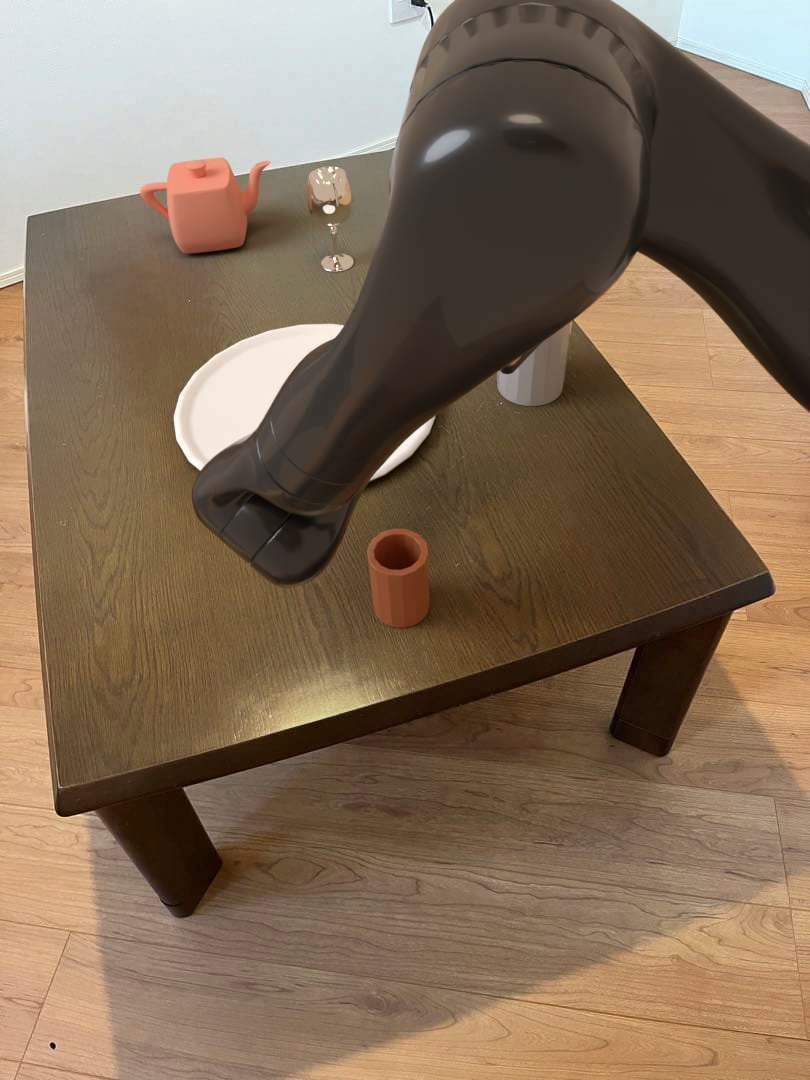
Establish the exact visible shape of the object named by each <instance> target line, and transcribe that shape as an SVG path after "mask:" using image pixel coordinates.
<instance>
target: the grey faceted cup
mask: <svg viewBox="0 0 810 1080" xmlns="http://www.w3.org/2000/svg"><path fill="white" fill-rule="evenodd" d="M572 326H573V320H572V321H571V322H570V323H568V324H567V325H566V326H564V327H563V328H562V329H560V330H559V331H558V332H556V333H555V334H553V335H552V336H550V337H549V338H548V339H546V340H545V341H543V342H542V343H541V344H540V345H539V346H538V347H537V348H536V349H535V350H534V351H533V352H532V354H531V355H530V356H529V357H528V358H527V359H526V360H525V361H524V362H523V363H522V364H521V365H520V366H519V367H518V368H517V369H516V370H515V371H514V372H513V373H511V374H503V373H502V372H500V371H498V372H497V373H496V387H497V391H498V393H499V394H500V395H501V396H502V397H503V398H504V399H505V400H507V401H509V402H510V403H512V404H515V405H519V406H524V407H539V406H543V405H544V406H545V405H548V404H550V403H552V402H555V400H557V399H558V398H559V397H560V396H561V394H562V393H563V390H564V385H565V379H566V373H567V364H568V357H569V348H570V341H571V334H572Z"/></svg>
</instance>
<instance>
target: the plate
mask: <svg viewBox="0 0 810 1080" xmlns="http://www.w3.org/2000/svg"><path fill="white" fill-rule="evenodd" d="M344 325H345V324H337V323H311V324H310V323H309V324H296V325H292V326H285V327H281V328H275V329H269V330H267V331H264V332H261V333H259V334H255V335H253V336H250V337H247V338H245V339H241V340H240V341H238V342H236V343H234V344H232V345H231V346H229V347H227V348H226V349H224V350H222V351H220V352H218V353H216V354H215V355H213V357H211V358H210V359H209V360H207V361H206V363H204V364H203V365H202V366H201V367H200V368H199V369H197V370H196V371H195V372H194V373H193V374H192V376H191V378H190V379H189V380H188V382H187V383H186V384H185V386H184V388H183V389H182V391H181V392H180V393H179V396H178V399H177V402H176V406H175V411H174V413H173V422H174V423H173V425H174V431H175V432H174V433H175V439H176V443H178V446H179V447H180V449H181V451H182V452H183V454H184V456H185V457H186V459H187V461H188V462H189V463H190V464H191V465H192V466H194V467H195V468H196V469H197V470H198V471H199V472H200V471H201V470H202V468H203V467H204V466H205V465H206V464H207V463H208V462H209V461H210V460H211V459H212V458H213V457H214V456H215V455H217V454H218V453H219V452H220V451H222V450H223V449H225V448H226V447H227V446H229V445H231V444H232V443H234V442H236V441H238V440H239V439H241V438H243V437H245V436H247V435H249V434H251V433H252V432H253V431H254V430H255V429H256V428H257V427H258V425H259V424H260V422H261V421H262V419H263V417H264V416H265V414H266V412H267V410H268V409H269V407H270V405H271V403H272V402H273V400H274V398H275V397H276V395H277V393H278V391H279V390H280V388H281V386H282V385H283V383H284V382H285V380H286V379H287V377H288V376H289V375H290V373H291V372H292V371H293V370H294V368H295V367H296V366H297V365H298V363H299V362H300V361H301V360H302V359H303V358H304V357H305V356H306V355H307V354H308V353H309V352H311V351H312V350H314V349H315V348H317V347H318V346H320V345H321V344H323V343H325V342H327V341H329V340H331V339H334V338H335V337H336V336H337V335H338V334H339V332H340V331H341V330H342V328H343V327H344ZM436 417H437V415H436V416H434V417H433V418H432V419H430V420H429V421H428V422H426V423H425V424H424V425H422V426H421V427H420V428H419V429H418V430H416V431H415V432H414V433H413V434H412V435H411V436H410V437H409V438H407V439H406V440H405V441H404V442H403V443H402V444H401V445H400V446H399V447H398V448H397V449H396V451H395V452H394V453H393V454H392V455H391V456H390V457H389V458H388V459H387V461H386V462H385V463H384V464H383V465H382V466H381V467H380V468H379V470H378V471H377V472H376V473H375V474H374V475H373V476H372V478H371V479H370V481H369V482H372V481H375V480H377V479H380V478H381V477H383V476H385V475H387V474H388V473H390V472H391V471H393V470H394V469H396V468H397V467H398V466H399V465H401V464H402V463H404V462H405V461H407V460H408V459H409V458H410V457H412V456H413V455H414V454H415V452H416V451H417V450H418V448H419V447H420V446H421V445H422V443H423V442H424V441H425V440H426V438H427V437H428V436H429V435H430V433H431V431H432V427H433V425H434V422H435V420H436ZM369 482H368V483H369Z"/></svg>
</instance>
